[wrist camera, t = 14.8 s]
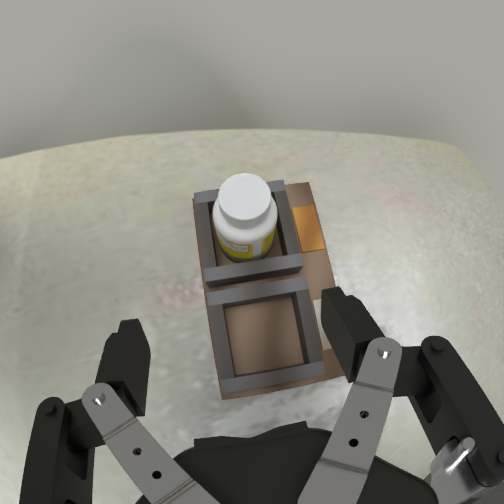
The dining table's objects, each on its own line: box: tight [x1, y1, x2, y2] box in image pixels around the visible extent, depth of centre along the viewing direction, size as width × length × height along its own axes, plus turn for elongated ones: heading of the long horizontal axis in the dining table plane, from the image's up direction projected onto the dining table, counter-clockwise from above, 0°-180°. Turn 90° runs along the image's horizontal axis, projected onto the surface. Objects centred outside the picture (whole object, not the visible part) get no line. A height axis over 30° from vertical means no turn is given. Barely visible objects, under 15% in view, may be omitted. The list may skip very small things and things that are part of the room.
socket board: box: [192, 180, 345, 400], centre depth 31 cm, size 13×21×4 cm, turn 10°
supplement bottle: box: [213, 173, 277, 263], centre depth 28 cm, size 5×5×10 cm
